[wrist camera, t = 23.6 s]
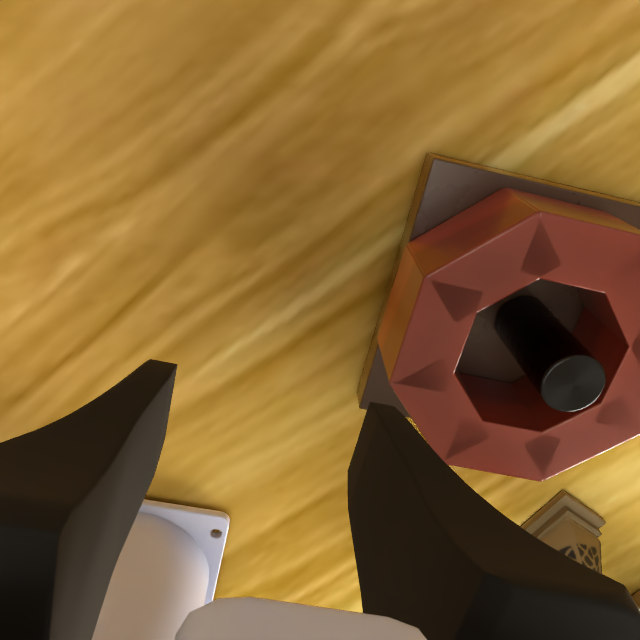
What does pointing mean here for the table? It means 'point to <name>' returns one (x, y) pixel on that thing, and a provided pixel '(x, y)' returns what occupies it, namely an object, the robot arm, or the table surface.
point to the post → (514, 310)
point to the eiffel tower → (571, 531)
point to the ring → (492, 286)
